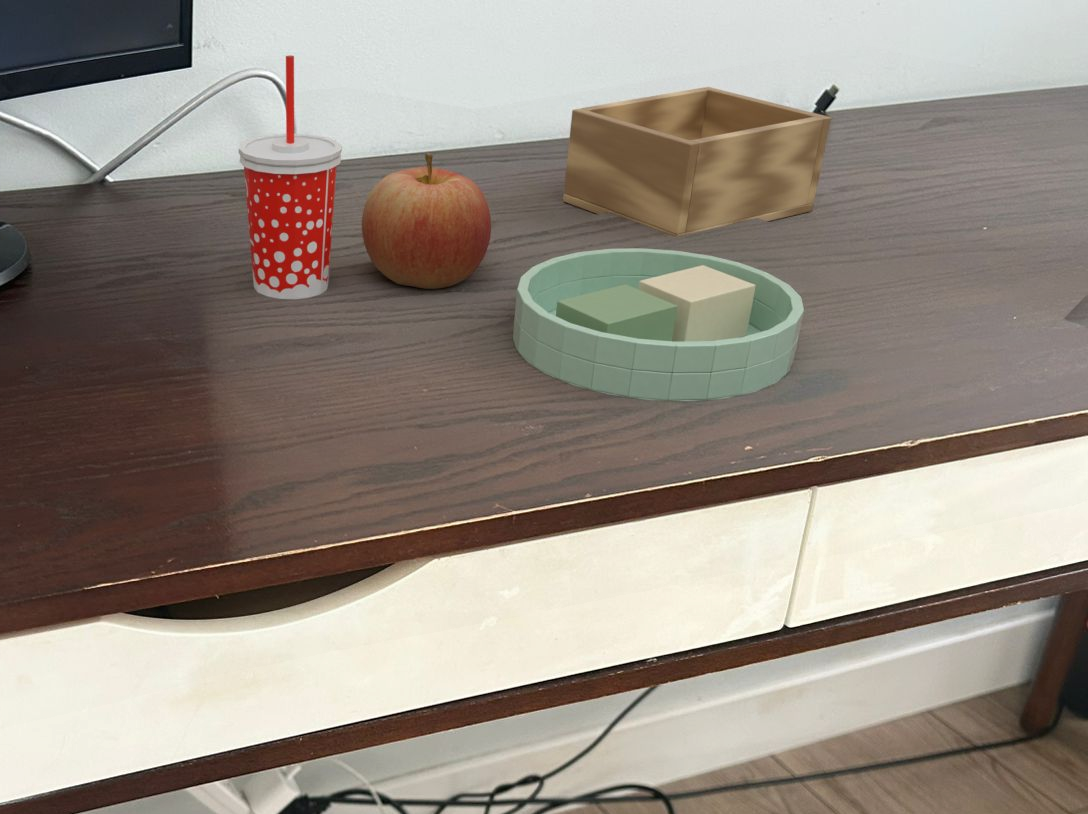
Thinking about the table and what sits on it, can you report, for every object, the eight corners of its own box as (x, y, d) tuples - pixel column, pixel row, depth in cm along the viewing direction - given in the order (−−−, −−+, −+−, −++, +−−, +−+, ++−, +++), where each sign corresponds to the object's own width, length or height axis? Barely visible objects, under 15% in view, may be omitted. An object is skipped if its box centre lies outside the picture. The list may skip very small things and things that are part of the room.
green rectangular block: (618, 334, 78) (625, 283, 76) (669, 357, 75) (677, 305, 73) (551, 352, 76) (556, 300, 74) (601, 377, 73) (607, 323, 71)
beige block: (695, 314, 80) (703, 264, 79) (747, 335, 78) (756, 284, 76) (632, 331, 78) (639, 280, 77) (682, 353, 75) (691, 301, 74)
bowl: (652, 288, 86) (660, 233, 84) (850, 369, 75) (864, 307, 73) (458, 336, 79) (462, 278, 77) (645, 433, 68) (655, 368, 66)
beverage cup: (285, 270, 89) (283, 41, 81) (359, 290, 86) (365, 54, 78) (222, 295, 85) (213, 58, 77) (297, 318, 82) (297, 72, 74)
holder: (694, 174, 107) (708, 86, 104) (812, 211, 99) (831, 117, 95) (562, 201, 101) (571, 109, 98) (675, 243, 93) (690, 144, 89)
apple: (362, 261, 90) (365, 137, 86) (484, 263, 90) (493, 139, 85) (358, 304, 84) (360, 172, 79) (489, 307, 83) (499, 174, 79)
